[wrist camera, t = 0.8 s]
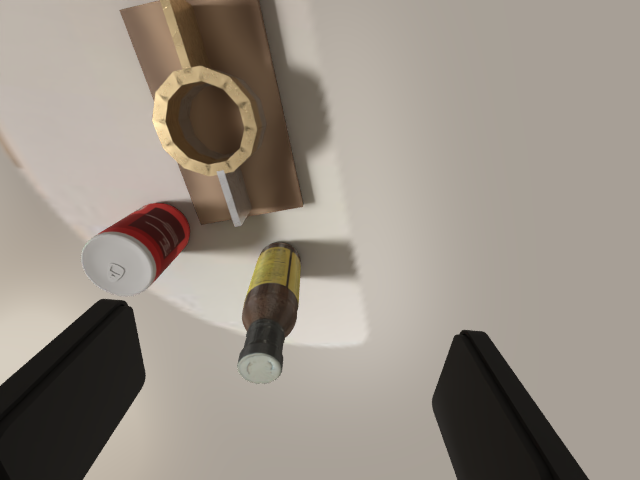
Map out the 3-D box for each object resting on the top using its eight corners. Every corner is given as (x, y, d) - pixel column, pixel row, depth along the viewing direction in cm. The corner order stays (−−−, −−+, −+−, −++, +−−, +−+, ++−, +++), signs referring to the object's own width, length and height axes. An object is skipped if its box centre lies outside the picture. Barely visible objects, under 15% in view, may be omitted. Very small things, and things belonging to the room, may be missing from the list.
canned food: (134, 244, 44) (79, 287, 34) (138, 193, 41) (79, 224, 31) (187, 258, 45) (150, 304, 35) (195, 210, 42) (156, 245, 32)
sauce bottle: (251, 261, 45) (205, 370, 27) (276, 232, 43) (245, 328, 25) (285, 285, 47) (264, 402, 29) (311, 257, 45) (305, 365, 27)
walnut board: (204, 220, 42) (201, 224, 41) (128, 13, 32) (119, 10, 31) (303, 203, 41) (302, 206, 40) (255, -17, 31) (252, -22, 30)
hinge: (213, 215, 40) (196, 233, 35) (142, 17, 31) (105, 0, 26) (285, 202, 40) (280, 218, 34) (235, -5, 30) (217, -27, 25)
